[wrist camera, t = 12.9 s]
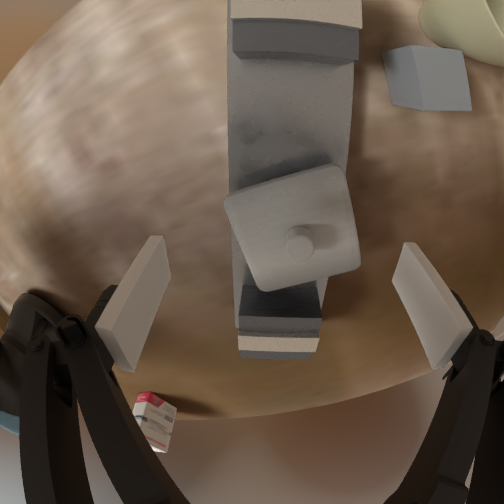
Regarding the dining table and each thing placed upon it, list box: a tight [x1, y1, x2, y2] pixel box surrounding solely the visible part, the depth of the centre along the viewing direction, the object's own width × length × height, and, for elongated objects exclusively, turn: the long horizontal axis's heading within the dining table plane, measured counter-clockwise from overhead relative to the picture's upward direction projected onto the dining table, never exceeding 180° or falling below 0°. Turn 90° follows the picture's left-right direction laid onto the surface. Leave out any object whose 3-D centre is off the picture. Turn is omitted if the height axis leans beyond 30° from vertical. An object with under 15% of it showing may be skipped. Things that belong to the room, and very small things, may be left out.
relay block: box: [381, 45, 472, 111], centre depth 15 cm, size 5×5×6 cm
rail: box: [227, 0, 362, 360], centre depth 22 cm, size 10×36×7 cm, turn 0°
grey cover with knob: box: [224, 163, 362, 292], centre depth 22 cm, size 10×10×5 cm
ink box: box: [133, 392, 177, 452], centre depth 47 cm, size 8×5×12 cm, turn 33°
